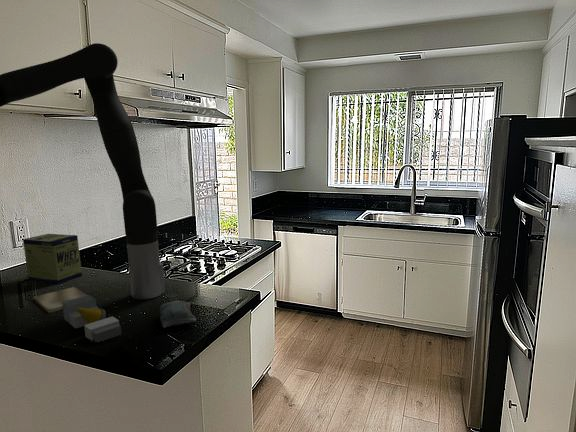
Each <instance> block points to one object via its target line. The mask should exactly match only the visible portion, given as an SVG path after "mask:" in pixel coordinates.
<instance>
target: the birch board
mask: <svg viewBox="0 0 576 432" xmlns="http://www.w3.org/2000/svg"><path fill="white" fill-rule="evenodd" d="M83 296H87V294H86V293H84V292H83V291H81V290H80V289H78V288H77V287H75V286H72V287H68V288H64V289H60V290H56V291H55V290H54V291H52V292H47V293H44V294H40V295H36V296H33V301H34V302H36V303H37V305H39V306H40V307H41V308H43V310H44V311H46V312H47V313H49V314H50V313H54V312H57V311H61V310H63V304H62V302H64V301H68V300H72V299H76V298H79V297H83Z"/></svg>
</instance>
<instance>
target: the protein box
mask: <svg viewBox="0 0 576 432" xmlns="http://www.w3.org/2000/svg"><path fill="white" fill-rule="evenodd" d="M22 242H23V249H24V257H25V264H26V272H27V280H28V281H30V280H32V281H31V282H37V281H39V282H40V283H45V282H46V284H52V283H53V285H60V284H63V283H65V282H68V281H71V280H74V279H77V278H79V277H82V276H83V273H82V263H81V256H80V247H79V246H80V245H79V239H78V234H59V233H45V234H42V235H41V234H40V235H37V236H32V237H28V238H23V240H22Z"/></svg>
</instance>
